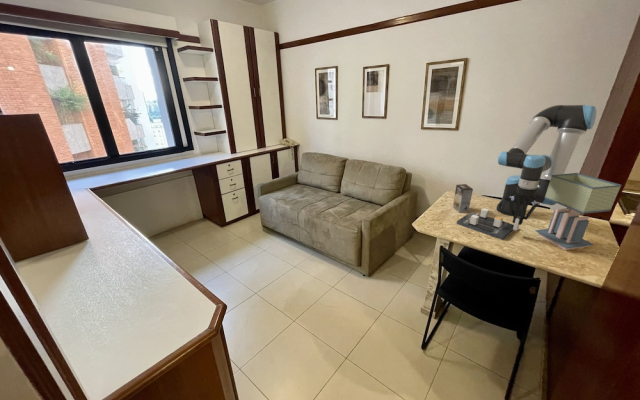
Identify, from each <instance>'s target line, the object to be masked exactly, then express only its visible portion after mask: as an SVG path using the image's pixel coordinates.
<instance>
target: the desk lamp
mask: <svg viewBox="0 0 640 400" xmlns="http://www.w3.org/2000/svg"><path fill="white" fill-rule="evenodd" d="M621 187H622V184H619V183H616V182H611V181H608V180H605V179H601V178H597V177H594V176H590V175H586V174H582V173H578V172H572V173H564V174H559V175H552V177H551V180H550V183H549V186H548V189H547V193H546V196H545V199H547V200H550V201H552V202H555V203H556V204H558V205H560V206H563V207H565V208H557V209H555V210H553V212H552V216H551V219H550V222H549V225H548V227H547V228H543V229H542V228H541V229H535V230H534V231H535V232H536V233H538V236H539V237H541V238H542V239H544V240H546V241H548V242H550V243H552V244H553V245H555V246H557V247H558V248H560V249H562V250H564V251H568V249H571V250H576V249H575V248H579V249H584V248H583V247H587V248H588V247H589V246H590V247H591V246H594V245H595V243H592V242H591V241H588V240H587V239H585V238H584V235H585V233H586V230H587V228H588V226H589V223H590V220H589V219H590V217H589V216H587V215H586V214H593V213H602V212H604V213H605V212H611V211H612V207H613V206H614V202H615V201H616V198H617V196H618V193H619V191H620V189H621ZM569 210H570V211H569ZM580 214H583V215H584V214H585V215H586V216H585V215H584V216H580Z"/></svg>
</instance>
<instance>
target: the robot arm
mask: <svg viewBox="0 0 640 400" xmlns="http://www.w3.org/2000/svg"><path fill="white" fill-rule="evenodd" d="M596 117H597V108H596V106H595V105H591V104H589V105H586V104H575V105H574V104H572V105H571V104H570V105H569V104H557V105H553V106H552V105H551V106H550V107H547V108H545V109H542V110H541V111H540V112H538V113H537V114H535V115H534V116H533V117H532V118H531V119H530V121H529V125H528V126H527V128H526V129H525V130H524V131H523V132H522V134H521V135H520V136H519V137H518V139H517V140H516V142H515V143H513V145H512V146H511V148H510V149H509V150H508V151H501V152H499V154H498V157H497V164H498V165H499V166H503V167H509V168H516V169H521V173H520V174H517V175H511V176H509V177H508V178H506V181H505V184H504V185H505V186H504V189H503V190H504V191H503V192H502V193H503V194H502V198H501V200H499V202H498V203H497V205H496V211H497V212H498V213H501V214H503V215H506V216H509V217H513V219H512V224H513V225H514V227H513V230H514V231H517V230H519V228H520V227H519V226H521V225H522V224H523V222H524V220H525V221H526V220H528V219H529V218H530V216H531V215H532V214H533V212H534V211H535V209H536V208H537V207H538V206H540V204H543V205H548V206H555V205H556V204H557V203H555V202H552V201H550V200H547V199H545V196H546V193H547V189H548V186H549V183H550V180H551V177H552V175H559V174H566V170H567V169H568V165H569V163H570V161H571V159H572V156H573V153H574V151H575V149H576V147H577V145H578V142H579V140H580V137H581V136H583V135H584V134H586V133H587V130H591V129H593V127H594V124H595V123H596ZM549 128H557V129H556V131H557V132H558V136H557V138H556V141H555V143H554V145H553V147H552V151H551V153H550V155H547V154H546V155H545V154H543V155H539V154H527V153H528V152H529V151H530V150H531V148H532V147H533V145H534V144H535V143H536V142H537V141H538V139H539V138H540V137H541V135H542V134H543V133H544V131H547V130H548V129H549ZM531 204H532V206H531V207H530V209H529V211H528V212H527V209H528V206H529V205H531Z"/></svg>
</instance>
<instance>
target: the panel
mask: <svg viewBox="0 0 640 400" xmlns="http://www.w3.org/2000/svg"><path fill="white" fill-rule="evenodd" d="M480 214H481V213H476V212H472V211H471V212H468V214H466V215H464V216H463V217H461V218H460V219H457V220H456V225H459V226H461V227H464V228H467V229H471V230H474V231H476V232H478V233H481V234H484V235H487V236H490V237H493V238H495V239H498V240H502V241H504V240H505V239H506V238H507V237H508V236H509V235H511V233H513V232H514V231H515V230H513V227H514V223H510V222H506V221H504V220H503V221H502V225H501V226H500V227H496V226H493V224H494V220H495V218H494V217H490V216H488V217H486V218H484V217H480ZM472 215H476V216H479V219H478V224H476V225H473V224H470V218H471V216H472Z"/></svg>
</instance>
